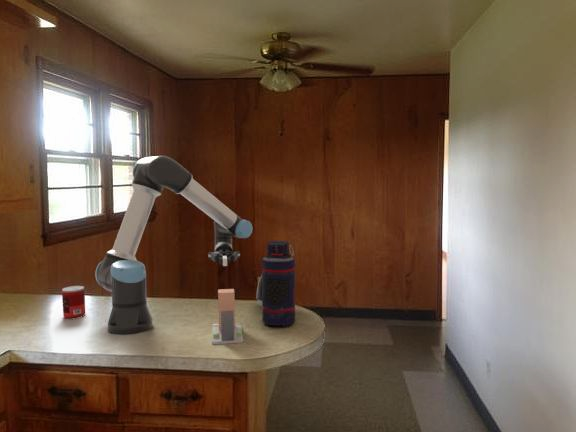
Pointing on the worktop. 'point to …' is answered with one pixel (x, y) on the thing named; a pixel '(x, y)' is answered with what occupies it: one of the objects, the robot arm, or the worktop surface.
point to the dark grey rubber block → (227, 326)
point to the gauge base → (217, 340)
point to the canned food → (73, 302)
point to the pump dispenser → (259, 291)
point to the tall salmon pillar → (226, 304)
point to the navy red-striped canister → (278, 285)
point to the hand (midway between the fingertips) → (225, 262)
